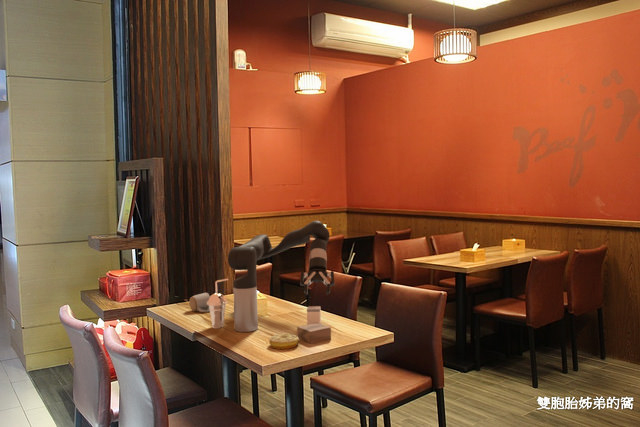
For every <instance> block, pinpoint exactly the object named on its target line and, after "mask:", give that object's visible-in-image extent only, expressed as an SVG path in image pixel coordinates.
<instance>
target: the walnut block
mask: <svg viewBox="0 0 640 427" xmlns="http://www.w3.org/2000/svg"><path fill="white" fill-rule="evenodd" d="M296 328H297V329H296V330H297V334H296V336H297V337H298V338H299V341H300V340H301V341H303V342H306V343H308V344H317V343H320V342H325V341H329V340H332V327H330V326H328V325H324V324H322V323H321V324H319V323H313V324H308V325H307V324H305V325H304V324H303V325H297V327H296Z"/></svg>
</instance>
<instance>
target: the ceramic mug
mask: <svg viewBox="0 0 640 427" xmlns="http://www.w3.org/2000/svg"><path fill="white" fill-rule="evenodd" d="M210 296H211V295H209V293H208V292H203V293H199V294H195V295H193V296H191V297H190V298H189V301H188V302H189V303H188V304H189V307H190V310H191V311H192V312H200V313H202V312H207V313H210V310H209V305H207V301H209V298H210ZM206 309H207V310H206Z"/></svg>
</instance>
